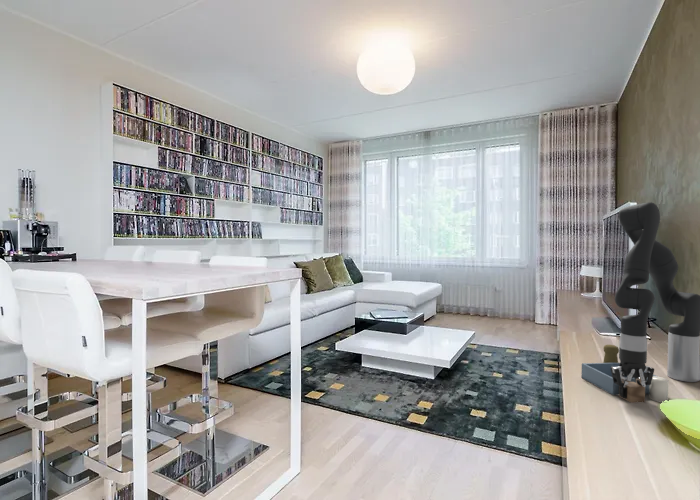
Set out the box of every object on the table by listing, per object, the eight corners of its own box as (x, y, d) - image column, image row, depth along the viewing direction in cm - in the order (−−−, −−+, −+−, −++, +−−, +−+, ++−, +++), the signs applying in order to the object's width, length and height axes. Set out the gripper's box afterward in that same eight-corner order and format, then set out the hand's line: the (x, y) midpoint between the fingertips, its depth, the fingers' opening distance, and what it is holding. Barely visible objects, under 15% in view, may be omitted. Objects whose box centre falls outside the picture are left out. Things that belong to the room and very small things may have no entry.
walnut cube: (632, 396, 134) (633, 381, 134) (644, 402, 129) (645, 387, 129) (618, 396, 133) (619, 381, 133) (630, 402, 128) (630, 387, 128)
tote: (624, 376, 152) (625, 362, 152) (661, 393, 136) (661, 377, 135) (581, 377, 151) (581, 363, 151) (612, 394, 135) (613, 379, 134)
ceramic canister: (659, 396, 134) (659, 375, 134) (671, 402, 129) (672, 381, 129) (645, 396, 133) (645, 376, 133) (657, 402, 128) (658, 381, 128)
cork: (611, 375, 154) (612, 347, 153) (598, 370, 159) (598, 343, 159) (623, 374, 155) (624, 346, 155) (609, 369, 161) (610, 342, 161)
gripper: (644, 344, 135) (642, 392, 135) (604, 344, 134) (603, 393, 134) (662, 350, 127) (661, 401, 128) (620, 351, 126) (619, 402, 127)
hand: (631, 397), depth 131 cm, fingers closed on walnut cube, 5 cm apart
